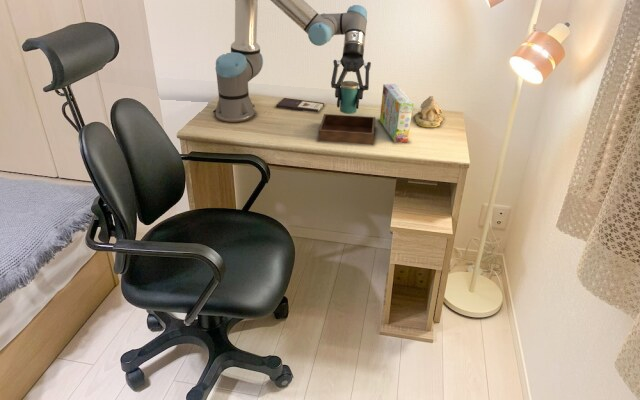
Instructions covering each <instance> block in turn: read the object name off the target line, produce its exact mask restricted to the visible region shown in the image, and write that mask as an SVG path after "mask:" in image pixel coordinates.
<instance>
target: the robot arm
mask: <svg viewBox="0 0 640 400" xmlns="http://www.w3.org/2000/svg"><path fill="white" fill-rule="evenodd" d="M270 2H271V3H273V4H274V5H275V6H276V7H277V8H278V9H279V10H280V11H282V12H283V14H285V15H286V16H287V17H288V18H289V19H290V20H292V22H294V23H295V24H296V25H297V26H298V27H299V28H301V29H302V30H303V31H304V32H305V34H307V36H308V39H309V42H311V44H312V45H314V46H317V47H321V46H324V45H326V44H328V43H329V42H330V41H331V40H332V38H333V37H334V36H341V35H342V36H343V35H344V40H343V48H342V57H341V58H340V59H339V60H337V59H334V60H333V62H332V63H333V70H332V77H331V82H330V86H331V88H332V89H334V97H335V99H337V101H336V107H337V108H340V96H341V82H344V81H345V78H346V75H347V74H348V73H351V72H352V73H355V76H356V80H357V83H358V84H359V86H358V92H357V102H356V110H358V109H359V105H360V100H363V97H364V91H368V90H369V87H370V70H371V67H372V63H371V61H368V62H367V61H365V60H364V54H365V45H366V44H365V43H366V32H367V23H368V10H367V9H366V8H365V7H364V6H362V5H361V4H353V5H352V6H349V7H348V8H347V10H346V12H341V13H340V12H338V13H337V12H336V13H318V12H317V11H316V10H315V9H314V8H313V7H312V6H311V5H310V4H308V2H307V1H305V0H270ZM258 5H259V0H234V41H233V42H232V43H231V44H230V52H226V53H222V54H221V55H219V56H218V57H217V58H216V60H215V68H214V69H215V73H216V83H217V92H218V93H217V94H218V100H217V105H216V108H215V109H214V110H213V111H212V113H215V116H216V118H217V120H219V121H221V122H225V123H242V122H247V121H249V120H251V119H253V118H254V117H255V104H253V103H252V101H251V98H250V93H249V92H250V91H249V83H250V81H252V79H254V78H255V77H256V76H258V75H259V74H260V72H261V71H262V69H263V66H264V58H263V55H262V53H261V46H260V45H259V43H258V41H257V39H258V11H259V10H258V8H259V6H258ZM340 66H342V71H341V73H340V75H339V77H338V80H337V76H338V72H339V71H338V70H339V68H340ZM363 66H364V67H363ZM362 67H363V69H364V70H365V75H364V76H365V78H364V84H363V80H362V75H361V71H360V69H361V68H362ZM336 81H337V82H336Z"/></svg>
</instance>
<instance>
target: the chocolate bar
mask: <svg viewBox="0 0 640 400" xmlns="http://www.w3.org/2000/svg"><path fill="white" fill-rule="evenodd" d="M275 106H276V108H280V109H287V110H293V111H301V112H302V111H306V112H311V113H318V112H320V110H321V109H323V107H324V106H325V103H324V102H320V101H312V100H304V99H297V98H289V97H283V98H282V99H281V100H280V101H278V103H276V105H275Z"/></svg>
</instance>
